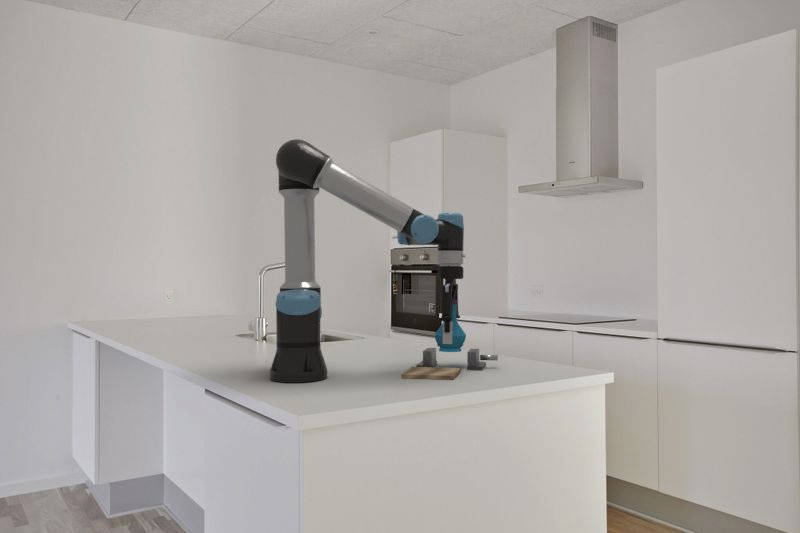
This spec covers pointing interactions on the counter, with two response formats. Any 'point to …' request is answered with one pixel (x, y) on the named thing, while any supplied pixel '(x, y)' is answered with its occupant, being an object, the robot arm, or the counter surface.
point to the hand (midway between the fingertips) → (450, 341)
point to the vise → (472, 359)
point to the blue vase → (457, 335)
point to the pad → (432, 373)
